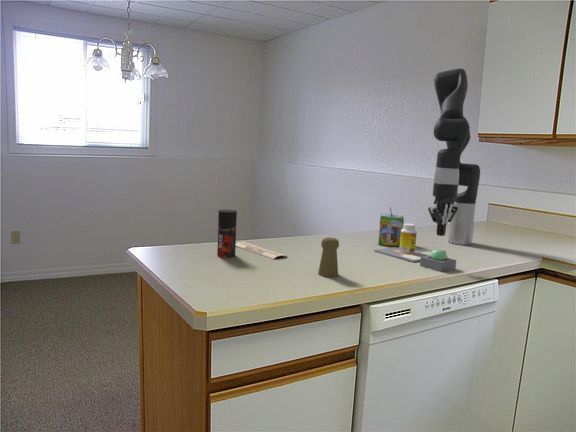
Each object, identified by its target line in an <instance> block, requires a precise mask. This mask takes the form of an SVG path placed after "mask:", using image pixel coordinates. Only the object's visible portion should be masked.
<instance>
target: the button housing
mask: <svg viewBox="0 0 576 432" xmlns="http://www.w3.org/2000/svg"><path fill="white" fill-rule="evenodd" d="M431 258H432V255H430V256H424V257H421V261H420V262H419V266H420V267H423V268H426V269H430V270H433V271H437V272H440V273H441V272H446V271H451V270H455V269H456V268H457V259H456V258H455V259H454V258H452V257H448V256H447V257H446V260H445V261H438V260H434V259H431Z"/></svg>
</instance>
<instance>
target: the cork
mask: <svg viewBox="0 0 576 432" xmlns="http://www.w3.org/2000/svg"><path fill="white" fill-rule="evenodd" d="M320 246H321V248H322V251H321V257H320V261H319V262H320V263H319V267H318V270H317V271H318V273H317V275H319V276H320V277H322V278H323V277H324V278H335V277H336V278H337V277H338V276H339V263H338V248H339V247H340V242H339V239H337V238H334V237H324V238H322V239H321V245H320Z"/></svg>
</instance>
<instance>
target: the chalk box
mask: <svg viewBox="0 0 576 432" xmlns="http://www.w3.org/2000/svg"><path fill="white" fill-rule="evenodd" d="M389 211H390V214H386V213H385V214H383V213H380V217H379V218H380V219H379V230H378V231H379V233H378V246H388V247H389V246H391V247H400V237H401V230H402V229H404V224H405V223H404V220H405V219H404V215H399V214H398V215H397V214H393V212H392V207H389Z"/></svg>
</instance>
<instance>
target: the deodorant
mask: <svg viewBox="0 0 576 432" xmlns="http://www.w3.org/2000/svg"><path fill="white" fill-rule="evenodd" d="M237 214H238V211H237V210H234V209H218V216H217V218H218V219H217V220H218V221H217V222H218V223H217V251H216V252H217V253H216V255H217V257H219V258H227V259H228V258H230V259H231V258H234V257H236V248H237V247H236V243H237V241H236V240H237V221H238V219H237V218H238V217H237V216H238V215H237Z"/></svg>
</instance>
